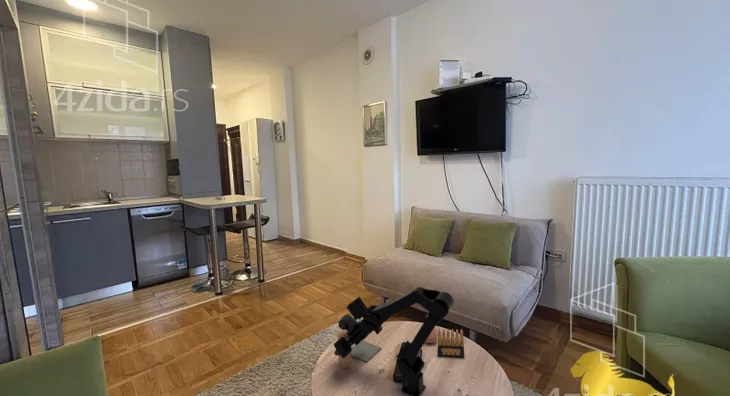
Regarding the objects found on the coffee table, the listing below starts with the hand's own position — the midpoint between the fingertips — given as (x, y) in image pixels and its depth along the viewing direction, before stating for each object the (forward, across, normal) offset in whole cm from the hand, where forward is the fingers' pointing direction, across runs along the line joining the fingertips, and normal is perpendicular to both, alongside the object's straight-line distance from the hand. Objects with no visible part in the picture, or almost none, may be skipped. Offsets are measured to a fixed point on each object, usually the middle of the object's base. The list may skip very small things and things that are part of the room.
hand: (341, 347), depth 121 cm
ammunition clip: (-21, -24, +31) cm, 45 cm away
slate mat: (+2, -11, +7) cm, 13 cm away
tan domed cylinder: (+4, 0, +6) cm, 7 cm away
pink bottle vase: (-13, -31, +23) cm, 41 cm away
